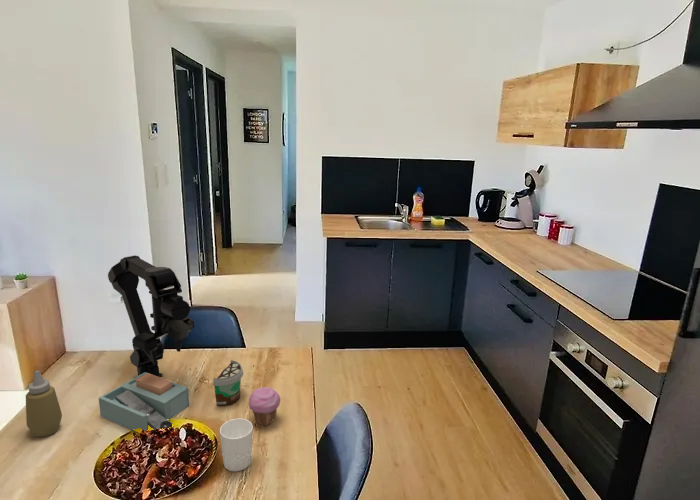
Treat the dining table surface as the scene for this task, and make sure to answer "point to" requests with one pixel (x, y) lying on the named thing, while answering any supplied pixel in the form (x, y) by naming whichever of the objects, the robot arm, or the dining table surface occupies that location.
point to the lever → (143, 410)
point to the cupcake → (264, 404)
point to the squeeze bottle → (42, 407)
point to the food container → (228, 385)
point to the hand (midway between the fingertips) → (166, 357)
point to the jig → (134, 419)
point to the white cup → (236, 444)
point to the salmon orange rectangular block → (153, 384)
